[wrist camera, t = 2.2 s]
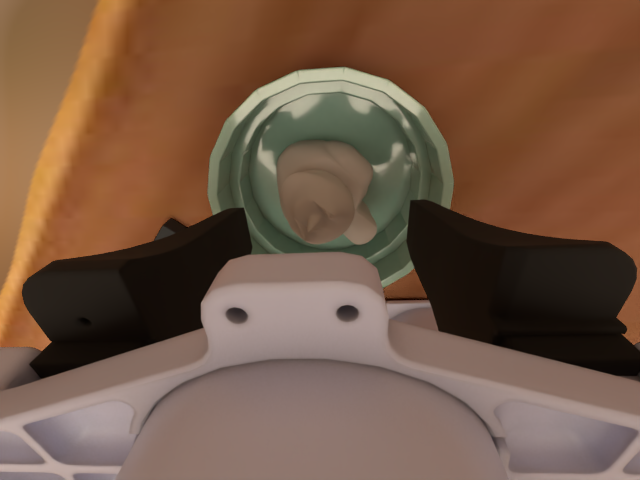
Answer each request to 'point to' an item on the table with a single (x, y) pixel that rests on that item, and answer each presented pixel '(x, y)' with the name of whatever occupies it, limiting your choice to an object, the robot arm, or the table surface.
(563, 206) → the table surface
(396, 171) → the bowl
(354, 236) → the rubber duck
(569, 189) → the table surface
